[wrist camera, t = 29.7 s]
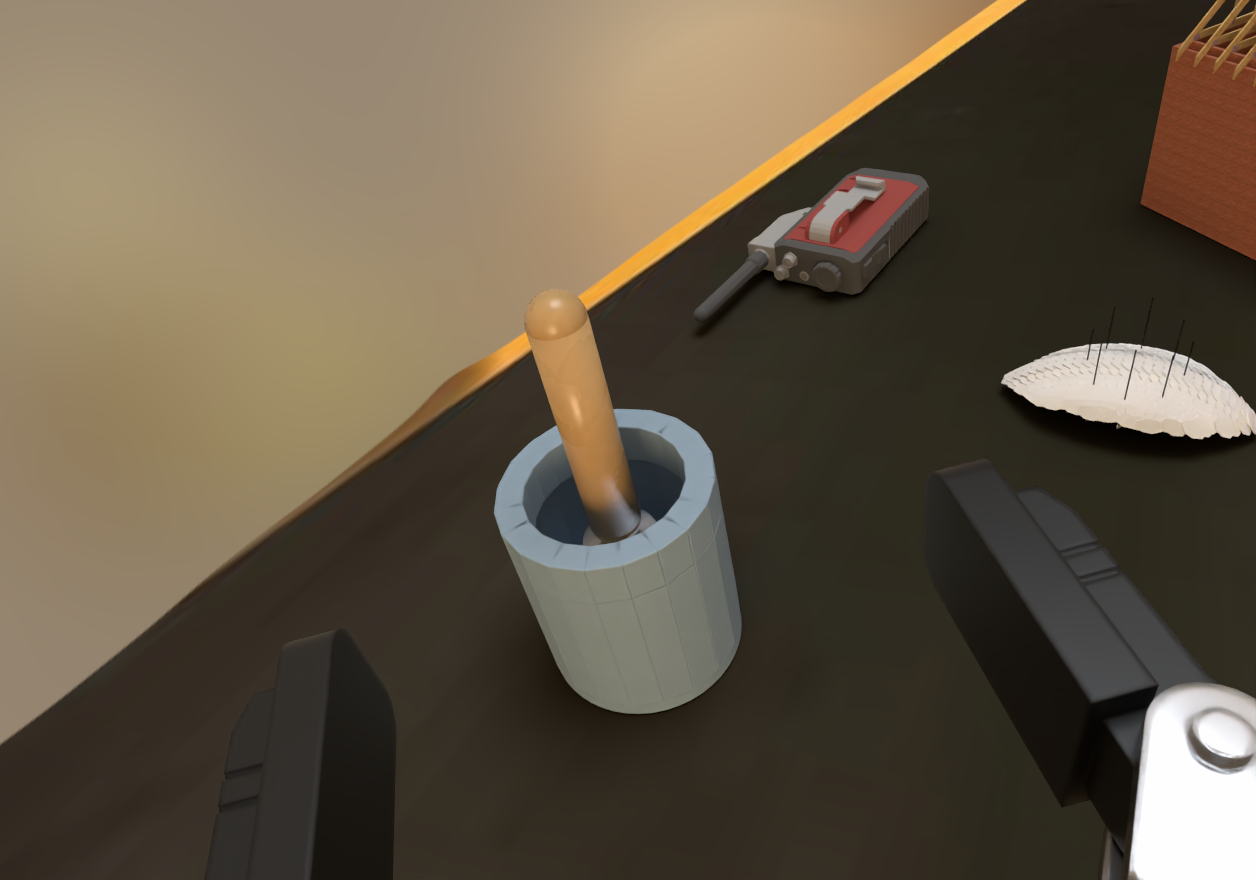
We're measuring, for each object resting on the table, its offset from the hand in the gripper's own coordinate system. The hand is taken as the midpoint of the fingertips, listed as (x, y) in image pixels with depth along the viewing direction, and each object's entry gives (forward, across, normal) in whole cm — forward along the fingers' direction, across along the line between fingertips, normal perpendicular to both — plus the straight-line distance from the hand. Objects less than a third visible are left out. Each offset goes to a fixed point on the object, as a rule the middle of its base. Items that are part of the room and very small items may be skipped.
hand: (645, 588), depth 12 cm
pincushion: (+24, -26, +25) cm, 43 cm away
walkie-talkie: (+44, -17, +25) cm, 54 cm away
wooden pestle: (+18, +1, +24) cm, 30 cm away
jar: (+18, +1, +25) cm, 31 cm away
